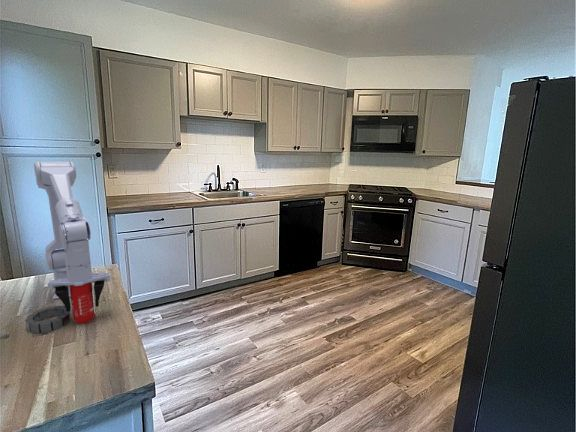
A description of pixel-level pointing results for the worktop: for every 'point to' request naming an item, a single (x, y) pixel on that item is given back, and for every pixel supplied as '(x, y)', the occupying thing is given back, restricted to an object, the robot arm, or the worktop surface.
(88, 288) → the beverage can
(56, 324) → the collar ring
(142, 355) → the worktop surface
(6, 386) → the worktop surface
